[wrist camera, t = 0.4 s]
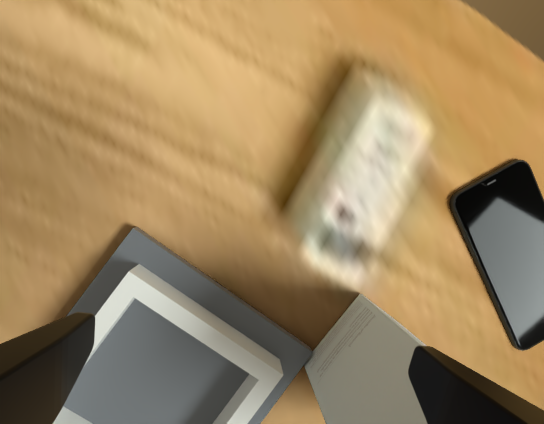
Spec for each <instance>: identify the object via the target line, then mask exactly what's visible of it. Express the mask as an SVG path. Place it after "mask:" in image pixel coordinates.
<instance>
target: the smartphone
mask: <svg viewBox="0 0 544 424" xmlns="http://www.w3.org/2000/svg"><path fill="white" fill-rule="evenodd" d="M450 208H451V211H452V213H453V215H454V217H455V219H456V222H457V224H458V226H459V228H460V231H461V233H462V235H463V238H464V240H465V242H466V244H467V246H468V249H469V251H470V253H471V255H472V257H473V259H474V262H475V264H476V266H477V268H478V270H479V273H480V275H481V277H482V279H483V281H484V284H485V286H486V288H487V290H488V293H489V295H490V297H491V299H492V301H493V304H494V306H495V308H496V310H497V312H498V315H499V317H500V319H501V321H502V323H503V326H504V328H505V330H506V332H507V334H508V337H509V339H510V341H511V343H512V345H513V346H514V347H515V348H516V349H518V350H528V349H530V348H532V347H533V346H535V345H537V344H538V343H540V342H542V341H543V340H544V199H543V196H542V194H541V192H540V189H539V187H538V184H537V182H536V179H535V177H534V174H533V172H532V169H531V167H530V166H529V164H528V163H527V162H526V161H524V160H514V161H512V162H510V163H508V164H506V165H504V166H502V167H500V168H499V169H497V170H495V171H493V172H491V173H490V174H488V175H486V176H484V177H482V178H480V179H479V180H477V181H475V182H473V183H471V184H470V185H468V186H466V187H464V188H462V189H461V190H459V191H457V192H456V193H454V194H453V195H452V197H451V199H450Z"/></svg>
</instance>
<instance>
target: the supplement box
mask: <svg viewBox="0 0 544 424" xmlns="http://www.w3.org/2000/svg"><path fill="white" fill-rule="evenodd" d="M418 345H421V346H426V345H425V344H424V343H423V342H422V341H420V340H419V339H418V338H417V337H415V336H414V335H413V334H412V333H411V332H410V331H408V330H407V329H406V328H405V327H404V326H402V325H401V324H400V323H399V322H397V321H396V320H395V319H394V318H392V317H391V316H390V315H388V314H387V313H386V312H385V311H383V310H382V309H381V308H379V307H378V306H377V305H375V304H374V303H373V302H371V301H370V300H369V299H367V298H366V297H365V296H364V295H362V294H359V295H358V297H357V298H356V299H355V300H354V301H353V303H352V304H351V305H350V306H349V307H348V309H347V310H346V311H345V312H344V314H343V315H342V316H341V317H340V318H339V320H338V321H337V322H336V323H335V325H334V326H333V327H332V328H331V329H330V331H329V332H328V333H327V334H326V336H325V337H324V338H323V339H322V341H321V342H320V343H319V344H318V346H317V347H316V348H315V349H314V351H313V353H312V354H311V356H310V357H309V358H308V360H307V361H306V363H305V364H304V367H305V369H306V372H307V375H308V377H309V380H310V383H311V386H312V388H313V391H314V393H315V396H316V399H317V401H318V404H319V406H320V409H321V412H322V414H323V417H324V420H325V422H326V424H427V421H426V419H425V416H424V414H423V411H422V409H421V406H420V404H419V401H418V399H417V397H416V394H415V392H414V389H413V387H412V384H411V382H410V379H409V375H408V368H409V365H410V362H411V358H412V355H413V352H414V349H415V347H416V346H418Z"/></svg>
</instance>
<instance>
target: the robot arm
mask: <svg viewBox="0 0 544 424" xmlns="http://www.w3.org/2000/svg"><path fill="white" fill-rule="evenodd" d="M94 337H95V315H94V314H92V313H83V312H76V313H74V314H71V315H69V316H66V317H64V318H62V319H59V320H57V321H54V322H52V323H50V324H47V325H45V326H42V327H40V328H38V329H35V330H33V331H30V332H28V333H26V334H23V335H21V336H18V337H16V338H14V339H11V340H9V341H6V342H4V343H2V344H0V424H53V422H54V421H55V419H56V418H57V416H58V414H59V413H60V411H61V409H62V407H63V406H64V404H65V402H66V400H67V398H68V396H69V394H70V392H71V390H72V388H73V386H74V385H75V383H76V381H77V379H78V377H79V375H80V373H81V371H82V369H83V367H84V365H85V363H86V361H87V359H88V357H89V355H90V353H91V351H92V349H93V346H94ZM408 375H409V379H410V382H411V384H412V387H413V389H414V392H415V394H416V397H417V399H418V401H419V404H420V406H421V409H422V411H423V414H424V416H425V419H426V421H427V424H544V410H542V409H540V408H538V407H537V406H535V405H533V404H531V403H529V402H528V401H526V400H524V399H522V398H521V397H519V396H517V395H515V394H514V393H512V392H510V391H508V390H507V389H505V388H503V387H501V386H500V385H498V384H496V383H494V382H493V381H491V380H489V379H487V378H486V377H484V376H482V375H480V374H479V373H477V372H475V371H473V370H472V369H470V368H468V367H466V366H465V365H463V364H461V363H459V362H457V361H456V360H454V359H452V358H450V357H449V356H447V355H445V354H443V353H442V352H440V351H438V350H436V349H435V348H433V347H430V346H421V345H418V346H416V347H415V349H414V352H413V355H412V358H411V362H410V365H409V368H408Z"/></svg>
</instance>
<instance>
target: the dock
mask: <svg viewBox="0 0 544 424" xmlns="http://www.w3.org/2000/svg"><path fill="white" fill-rule="evenodd" d="M76 312H83V313H92V314H94V315H95V337H94V346H93V349H92V351H91V353H90V355H89V357H88V359H87V361H86V363H85V365H84V367H83V369H82V371H81V373H80V375H79V377H78V379H77V381H76V383H75V385H74V386H73V388H72V390H71V392H70V394H69V396H68V398H67V400H66V402H65V404H64V406H63V407H62V409H61V411H60V413H59V414H58V416H57V418H56V419H55V421H54V422H53V424H260V423H261V422H262V421H263V419H264V418H265V417H266V415H267V414H268V413H269V411H270V410H271V408H272V407H273V406H274V404H275V403H276V402H277V400H278V399H279V398H280V396H281V395H282V394H283V392H284V391H285V390H286V388H287V387H288V386H289V384H290V383H291V381H292V380H293V379H294V377H295V376H296V375H297V373H298V372H299V371H300V369H301V368H302V367H303V365H304V364H305V363H306V361H307V360H308V358H309V357H310V356H311V354H312V353H313V352H312V350H311V348H310V347H309V346H308V345H306V344H305V343H303V342H302V341H301V340H299V339H298V338H296V337H295V336H293V335H292V334H290V333H289V332H288V331H286V330H285V329H283V328H282V327H280V326H279V325H278V324H276V323H275V322H273V321H272V320H270V319H269V318H267V317H266V316H265V315H263V314H262V313H260V312H259V311H257V310H256V309H254V308H253V307H252V306H250V305H249V304H247V303H246V302H244V301H243V300H242V299H240V298H239V297H237V296H236V295H234V294H233V293H231V292H230V291H229V290H227V289H226V288H224V287H223V286H221V285H220V284H219V283H217V282H216V281H214V280H213V279H211V278H210V277H208V276H207V275H206V274H204V273H203V272H201V271H200V270H198V269H197V268H196V267H194V266H193V265H191V264H190V263H188V262H187V261H185V260H184V259H183V258H181V257H180V256H178V255H177V254H175V253H174V252H172V251H171V250H170V249H168V248H167V247H165V246H164V245H162V244H161V243H160V242H158V241H157V240H155V239H154V238H152V237H151V236H149V235H148V234H147V233H145V232H144V231H142V230H141V229H139V228H138V227H134V228H133V229H132V230H131V231H130V233H129V234H128V235H127V236H126V238H125V239H124V240H123V242H122V243H121V244H120V246H119V247H118V248H117V250H116V251H115V252H114V254H113V255H112V256H111V258H110V259H109V260H108V262H107V263H106V264H105V266H104V267H103V268H102V270H101V271H100V272H99V274H98V275H97V276H96V278H95V279H94V280H93V282H92V283H91V284H90V286H89V287H88V288H87V290H86V291H85V292H84V293H83V295H82V296H81V297H80V299H79V300H78V301H77V303H76V304H75V305H74V307H73V308H72V309H71V311H70V312H69V313H68V315H67V316H69V315H71V314H74V313H76Z"/></svg>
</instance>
